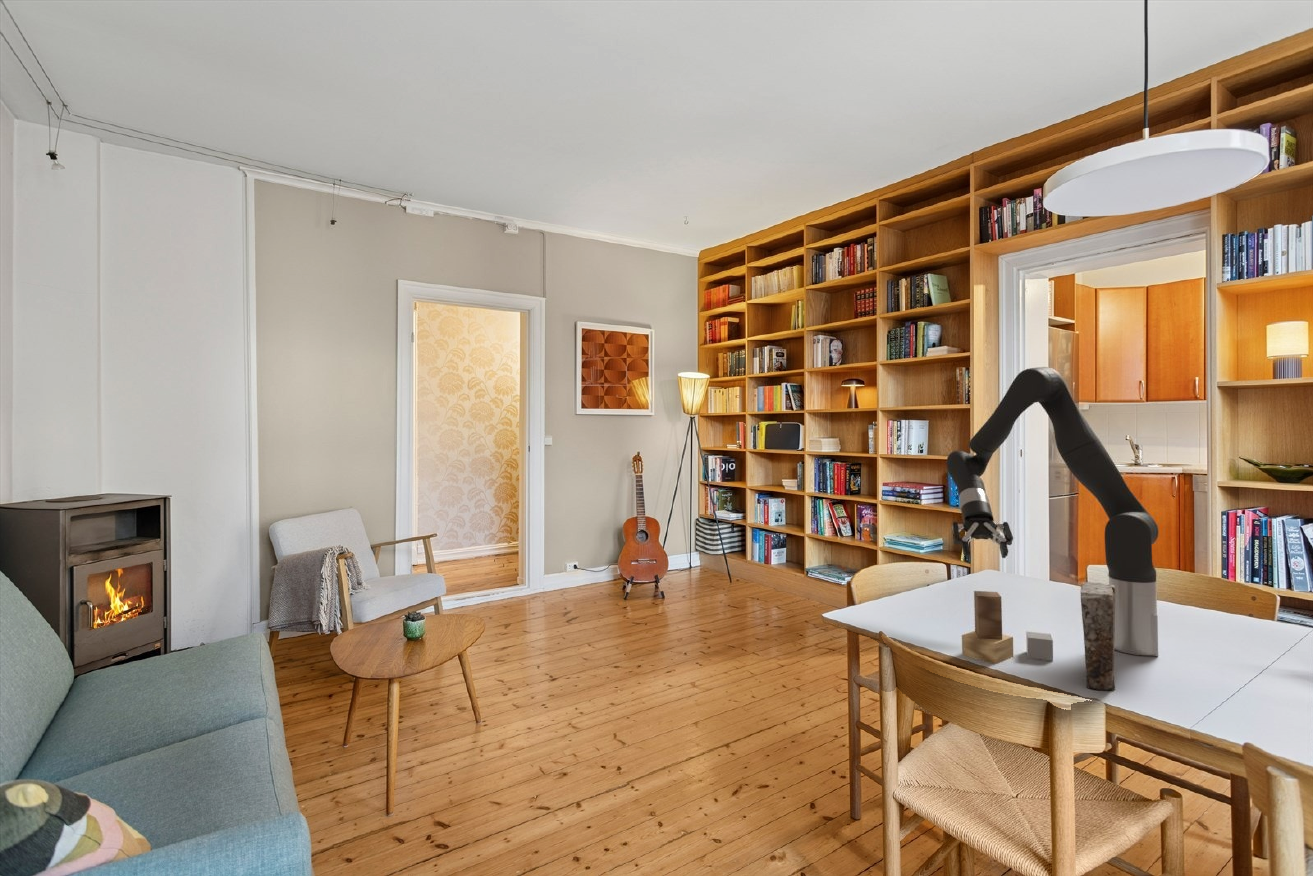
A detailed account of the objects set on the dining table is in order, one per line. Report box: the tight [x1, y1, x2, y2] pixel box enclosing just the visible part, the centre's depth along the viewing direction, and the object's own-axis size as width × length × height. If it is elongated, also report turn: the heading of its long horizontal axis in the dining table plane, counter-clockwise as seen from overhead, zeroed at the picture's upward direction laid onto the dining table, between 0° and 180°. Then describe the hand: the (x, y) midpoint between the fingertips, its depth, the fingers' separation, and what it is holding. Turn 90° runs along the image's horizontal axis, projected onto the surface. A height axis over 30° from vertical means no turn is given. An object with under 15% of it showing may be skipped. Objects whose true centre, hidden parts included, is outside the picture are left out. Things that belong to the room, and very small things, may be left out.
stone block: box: [1080, 581, 1116, 691], centre depth 135 cm, size 13×7×20 cm, turn 149°
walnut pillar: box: [973, 590, 1003, 640], centre depth 151 cm, size 5×5×10 cm
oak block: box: [961, 630, 1014, 665], centre depth 151 cm, size 8×8×5 cm
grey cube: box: [1025, 630, 1054, 662], centre depth 150 cm, size 5×5×5 cm
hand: (986, 556), depth 166 cm, fingers open, 8 cm apart
